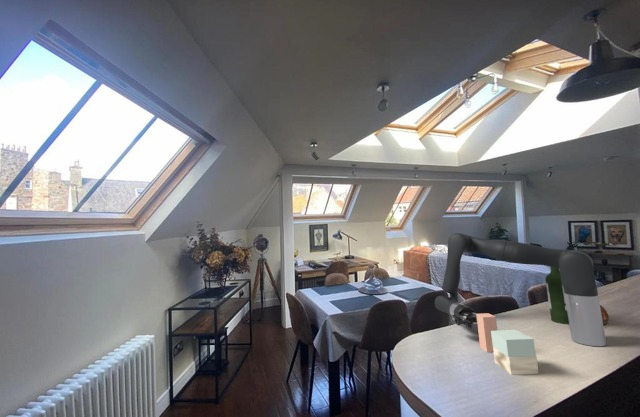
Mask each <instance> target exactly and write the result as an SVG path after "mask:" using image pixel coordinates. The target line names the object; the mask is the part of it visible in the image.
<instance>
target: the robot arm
mask: <svg viewBox="0 0 640 417" xmlns="http://www.w3.org/2000/svg"><path fill="white" fill-rule="evenodd" d="M464 253H469V254H470V253H471V254H472V253H473V254H480V255H484V256H487V257H490V258H492V259H495V260H499V261H503V262H509V263H513V264H521V265H522V264H523V265H532V266H533V265H535V266H546V267H554V268H558V269H559V271H560V275H561V281H562V285H563V288H564V294H565V300H566V306H567V313H568V320H569V324H568V326H569V332H570V338H571V340H572V341H573V342H575V343H578V344H581V345H585V346H588V347H589V346H590V347H591V346H592V347H605V346H607V340H606V334H605V327H604V324H603V321H602V315H601V309H600V305H601V303H600V298H599V291H598V287H597V283H596V276H595V271H594V270H595V269H594V260H593V258H592V257H591V256H590V255H589V254H587V253H586V252H583V251H581V250H574V249H573V250H569V249H557V248H547V247H543V246H540V245H539V246H537V245H534V244H530V243H526V242H525V243H524V242H519V241H514V240H507V239H506V240H505V239H485V238H480V237H476V236H471V235H468V234H464V233H459V232H455V233H452V234H451V235H450V236H449V237H448V239H447V256H446V265H445V266H446V267H445V271H444V272H445V273H444V277H443V280H442V286H441V289H442V291H444V292H445V293H447V294H449V296H445V295H438V296H436V298H435V299H434V306H435V308H436V309H437V310H438V311H441V312H443V313H446V314H448V315H450V316H451V317H452V321H453V323H454V324H456V325H457V326H461V325H462V326H464V327H467V328H469V329H472V328H473V324H477V316H476V314H477V313H476V312H475V310H474V309H473V308H472V307H471V306H467V304H466V305H465V304H464V303H460V302H459V299H458V298H459V296H458V290H459V285H460V281H461V260H462V257H463V254H464Z"/></svg>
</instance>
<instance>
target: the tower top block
mask: <svg viewBox="0 0 640 417" xmlns="http://www.w3.org/2000/svg"><path fill="white" fill-rule="evenodd" d="M491 336H492V344H493V347H494V348H496V349H497V350H499V351H500V352H501V353H503V354H504V355H506V356H507V357H533V356H536V357H537V354H536V353H537V352H536V347H535V340H534V338H533V337H531V336H529V335H526V334H525V333H523V332H522V331H519V330H517V329H504V330H503V329H501V330H498V329H497V331H491Z"/></svg>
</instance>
